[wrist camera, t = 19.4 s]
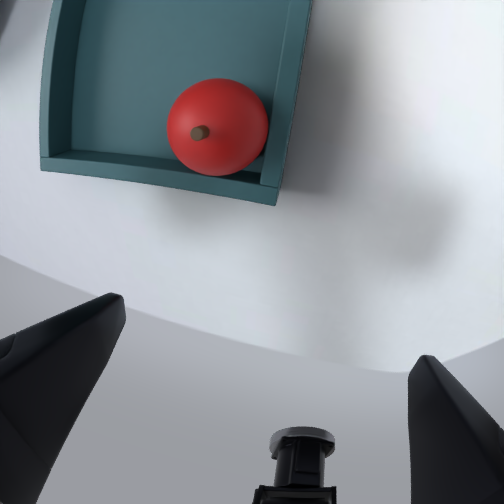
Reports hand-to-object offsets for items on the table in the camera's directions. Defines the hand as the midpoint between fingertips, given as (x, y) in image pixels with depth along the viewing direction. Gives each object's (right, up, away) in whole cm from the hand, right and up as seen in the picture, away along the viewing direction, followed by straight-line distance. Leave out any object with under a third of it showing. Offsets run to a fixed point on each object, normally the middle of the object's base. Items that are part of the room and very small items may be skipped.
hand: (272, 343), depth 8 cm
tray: (-4, +26, +1) cm, 26 cm away
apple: (-2, +10, +8) cm, 13 cm away
